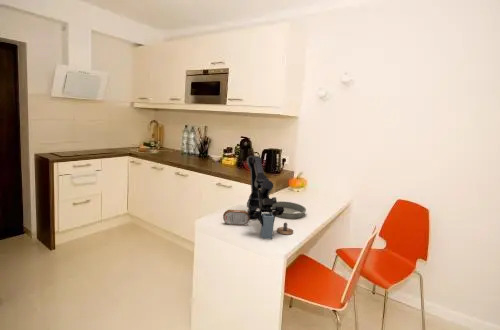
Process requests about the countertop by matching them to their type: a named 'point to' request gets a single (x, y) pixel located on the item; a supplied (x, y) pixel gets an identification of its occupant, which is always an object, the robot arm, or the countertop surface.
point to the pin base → (289, 231)
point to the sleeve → (267, 226)
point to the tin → (236, 217)
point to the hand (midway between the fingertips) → (267, 225)
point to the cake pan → (290, 209)
